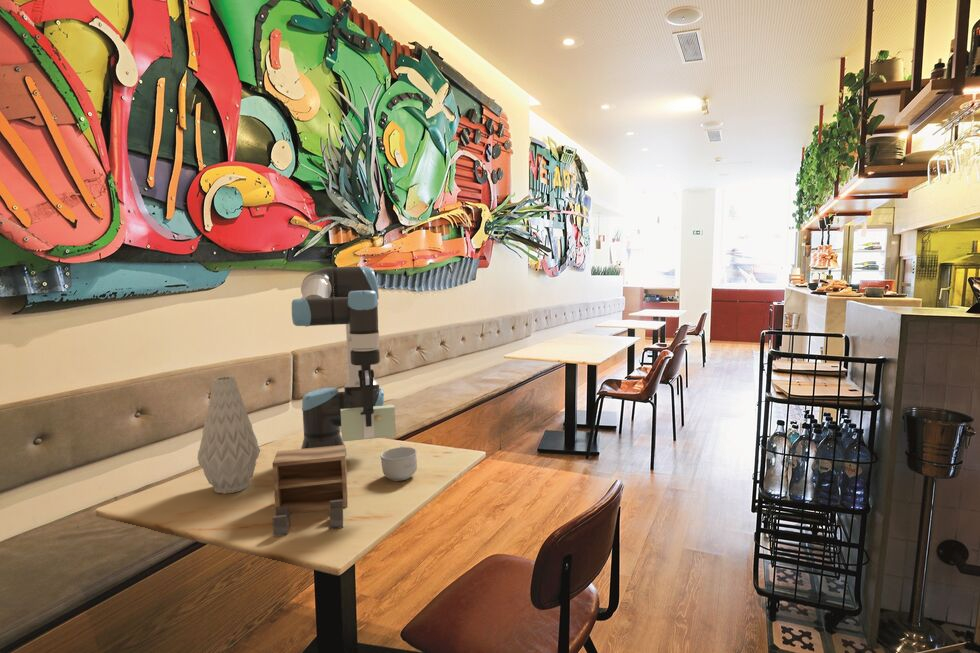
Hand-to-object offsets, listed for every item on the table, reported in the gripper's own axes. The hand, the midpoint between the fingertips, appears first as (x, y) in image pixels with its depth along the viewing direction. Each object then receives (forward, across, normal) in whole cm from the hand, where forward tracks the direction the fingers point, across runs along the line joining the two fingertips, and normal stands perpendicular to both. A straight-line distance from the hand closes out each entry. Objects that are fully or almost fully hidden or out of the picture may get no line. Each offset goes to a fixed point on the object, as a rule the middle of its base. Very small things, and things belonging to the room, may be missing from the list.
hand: (368, 435), depth 149 cm
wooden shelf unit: (+19, +2, -15) cm, 24 cm away
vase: (+19, -23, -39) cm, 49 cm away
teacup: (+19, -18, +10) cm, 28 cm away
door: (+1, 0, 0) cm, 1 cm away
